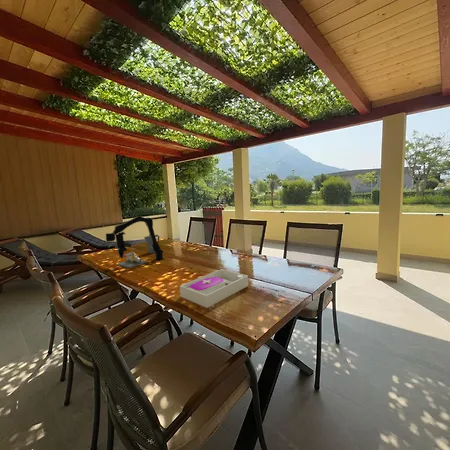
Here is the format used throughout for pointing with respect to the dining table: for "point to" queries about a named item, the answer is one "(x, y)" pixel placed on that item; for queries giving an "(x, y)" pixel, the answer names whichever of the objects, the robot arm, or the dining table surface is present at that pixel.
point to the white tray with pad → (213, 287)
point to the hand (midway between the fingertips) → (122, 258)
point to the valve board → (130, 264)
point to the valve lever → (127, 254)
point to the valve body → (133, 259)
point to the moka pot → (150, 243)
